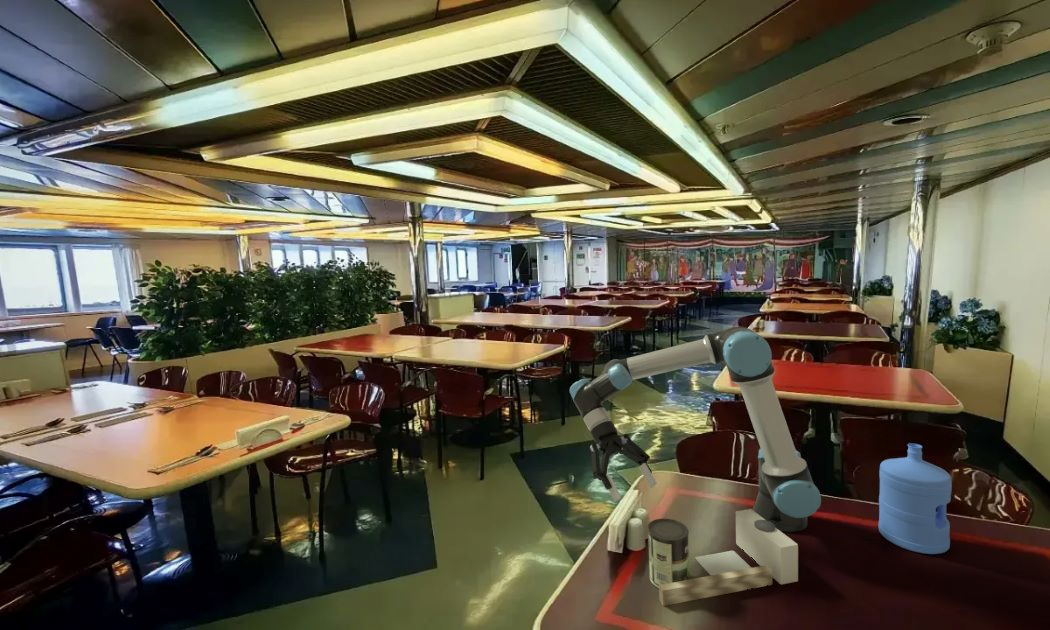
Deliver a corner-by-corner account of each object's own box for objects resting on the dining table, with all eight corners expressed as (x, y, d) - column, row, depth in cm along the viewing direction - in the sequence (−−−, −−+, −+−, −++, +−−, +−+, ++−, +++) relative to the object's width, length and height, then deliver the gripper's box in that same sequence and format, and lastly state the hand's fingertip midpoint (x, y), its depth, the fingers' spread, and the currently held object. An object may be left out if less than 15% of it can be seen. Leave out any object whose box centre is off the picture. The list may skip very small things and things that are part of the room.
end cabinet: (751, 541, 134) (750, 506, 133) (797, 581, 116) (797, 542, 115) (689, 551, 130) (688, 517, 129) (727, 595, 113) (726, 555, 112)
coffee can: (686, 567, 124) (685, 519, 122) (692, 594, 114) (691, 541, 112) (647, 565, 126) (646, 516, 124) (650, 590, 116) (648, 538, 114)
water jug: (889, 549, 126) (890, 453, 124) (871, 520, 141) (872, 433, 138) (961, 560, 120) (964, 459, 118) (934, 528, 135) (937, 437, 132)
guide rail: (766, 579, 117) (766, 565, 117) (772, 584, 115) (772, 569, 115) (659, 600, 112) (659, 585, 112) (663, 605, 110) (662, 590, 110)
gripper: (625, 423, 147) (660, 485, 136) (562, 440, 135) (595, 510, 124) (636, 412, 142) (674, 475, 131) (572, 428, 130) (608, 500, 118)
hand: (636, 492), depth 127 cm, fingers open, 13 cm apart
